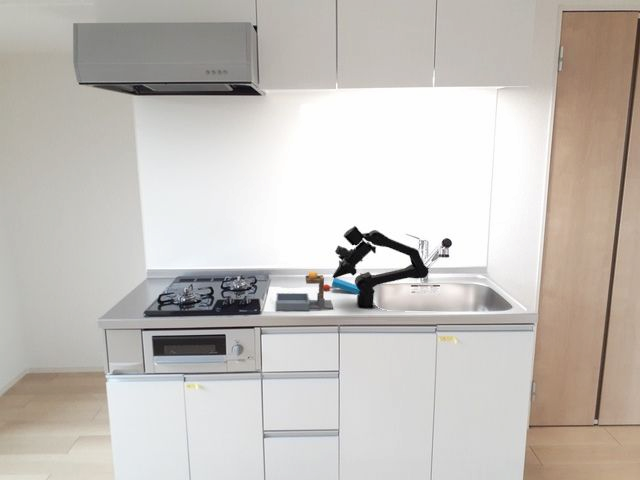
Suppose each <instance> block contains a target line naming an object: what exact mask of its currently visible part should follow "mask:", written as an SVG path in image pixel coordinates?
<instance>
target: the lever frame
mask: <svg viewBox="0 0 640 480" xmlns="http://www.w3.org/2000/svg"><path fill="white" fill-rule="evenodd" d="M310 310H311V311H312V310H313V311H314V310H315V311H316V310H319V311H320V310H322V311H325V310H327V311H328V310H329V311H330V310H332V311H333V310H334V305H333V303H332V300H331V299H325V298H319V292H317V297H316V299H309V311H310Z"/></svg>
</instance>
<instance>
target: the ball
mask: <svg viewBox="0 0 640 480" xmlns="http://www.w3.org/2000/svg"><path fill="white" fill-rule="evenodd" d="M307 275H308V276H309V279H317V277H318V276H319V275H318V273H317V271H314V270H311V271H310V272H309V273H308V274H307Z"/></svg>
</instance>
